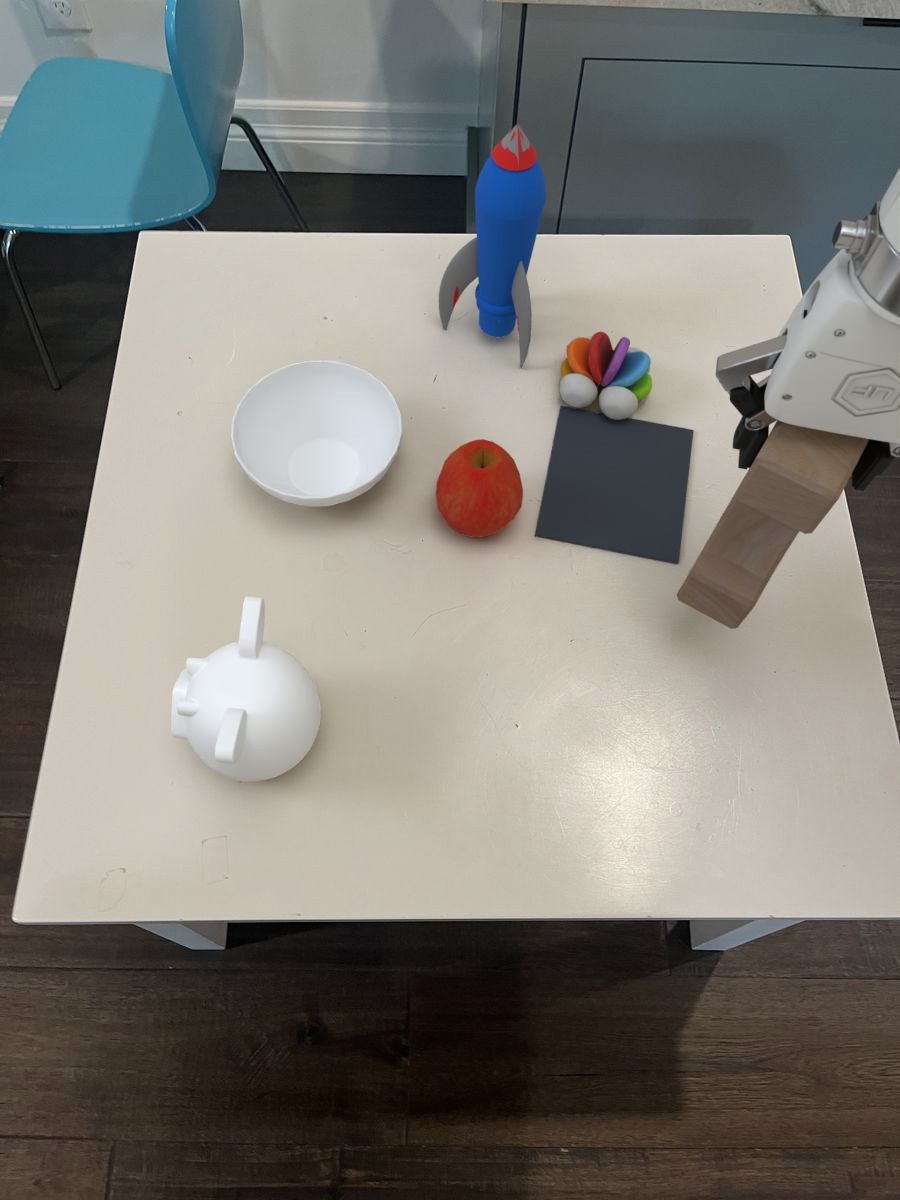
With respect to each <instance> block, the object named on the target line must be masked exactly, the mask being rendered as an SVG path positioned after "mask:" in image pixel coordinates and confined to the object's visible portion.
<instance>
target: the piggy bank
mask: <svg viewBox="0 0 900 1200" xmlns="http://www.w3.org/2000/svg"><path fill="white" fill-rule="evenodd" d="M265 612H266V606H265V599H264V598H263V597H261V596H252V595H245V597H244V600H243V604H242V612H241V619H240V625H239V633H238V641H234V642H231V643H227V644H225V645H223V646H221V647H218V648H217V649H215V650H214V651H212V652H211V653H209V654H208V655H207V656H206V657H205V658H204V657H194V656H193V657H192V656H189V657H187V659H186V662H185V667H184V668H183V670H182V671H181V673H180V674H179V675H178V677H177V679H176V681H175V683H174V685H173V687H172V693H171V708H170V709H171V713H170V732H171V736H172V738H175V739H182V740H183V739H184V740H188V742H189V743H190V745H191V747H192V749H193V751H194V752H195V754H196V755H197V756H198V758H199V759H200V760H201V761H202V762H203V763H204V764H205V765H206V766H207V767H209V768H210V769H212V770H213V771H214V772H216V773H218V774H219V775H221V776H223V777H226V778H228V779H231V780H235V781H241V782H261V781H267V780H271V779H274V778H276V777H278V776H281V775H283V774H285V773H287V772H288V771H290V770H292V769H293V768H294V767H295V766H296V765H298V764H299V763H300V762H301V761H302V760H303V759H304V758H305V756H306V755H307V754H308V753H309V751H310V750H311V748H312V747H313V746H314V743H315V740H316V739H317V736H318V733H319V731H320V725H321V717H322V709H321V708H322V706H321V699H320V694H319V691H318V688H317V686H316V685H317V684H316V683H315V681H314V678H313V677H312V675H311V673H310V672H309V670H308V669H307V668H306V667H305V666H304V664H303V663H302V662H301V661H300V660H299V659H298V658H297V657H296V656H295V655H294V654H292V653H291V652H290V651H289V650H286V649H284V648H283V647H280V646H278V645H276V644H274V643H271V642H268V641H264V633H265V618H266V613H265Z"/></svg>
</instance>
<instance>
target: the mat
mask: <svg viewBox="0 0 900 1200" xmlns="http://www.w3.org/2000/svg"><path fill="white" fill-rule="evenodd" d="M558 412H559V413H558V415H557V421H556V427H555V431H554V437H553V442H552V447H551V452H550V456H549V462H548V467H547V471H546V472H547V473H546V478H545V482H544V487H543V493H542V498H541V503H540V507H539V512H538V513H539V514H538V519H537V522H536V523H537V524H536V529H535V534H534V537H536V538H543V539H547V540H553V541H557V542H563V543H567V544H573V545H577V546H578V545H579V546H584V547H587V548H594V549H599V550H605V551H608V552H613V553H619V554H624V555H629V556H634V557H639V558H643V559H649V560H654V561H659V562H664V563H670V564H674V565H675V564H676V565H679V563H680V557H681V556H680V555H681V547H682V538H683V528H684V520H685V519H684V518H685V512H686V501H687V493H688V484H689V474H690V467H691V466H690V465H691V458H692V447H693V439H694V429H690V428H687V427H680V426H675V425H669V424H665V423H664V424H663V423H658V422H652V421H648V420H642V419H638V418H637V419H636V418H632V417H628V418H626V419H622V420H615V419H611V418H609V417H607V416H606V415H605V414H604V413H603V412H599V411H593V410H589V409H583V408H576V407H572V406H567V405H562V404H561V405H560V406H559V411H558Z"/></svg>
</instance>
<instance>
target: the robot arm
mask: <svg viewBox="0 0 900 1200" xmlns="http://www.w3.org/2000/svg"><path fill="white" fill-rule="evenodd" d="M831 248H832V249H839V251H838V252H837V253H836V254H835V255H834V256H833V258H831V260H830V261H829V262H828V263H827V264H826V266H825V267H824V268H823V269H822V270H821V272H819V274H818V275H817V276H816V278H815V279H814V280H813V282H812V283H811V284H810V286H809V287H808V288H807V290H806V291H805V293H803V296H802V297H801V298H800V299H799V300H798V303H797V304H796V305H795V307H794V309H793V311H792V312H791V313H790V315H789V316H788V318H787V319H786V322H785V323H784V325H783V326H782V328H781V329H780V331H779V333H778V335H777V336H776V337H773V338H771V339H767V340H764V341H761V342H758V343H755V344H750V345H749V346H745V347H742V348H738V349H735V350H732V351H729V352H725V353H723V354H721V355H719V356H717V358H716V365H715V377H716V380H718V382H719V383H720V386H721V387H722V388H723V390H724V392H726V393H727V394H728V395H729V402H730V403H731V404H732V405H733V407H734V408H735V409H736V410H737V412H738V413H739V414H740V415H741V418H740V420H739V422H738V424H737V426H736V428H735V430H734V433H733V436H732V437H733V438H732V449H733V450H737V451H738V452H739V453H738V464H737V467H738V469H741V470H747V469H749V468H750V467H751V465H752V464H753V462H754V460H755V459H756V457H757V455H758V453H759V452H760V450H761V448H762V447H763V445H764V443H765V441H766V440H767V438H768V435H769V434H770V425H772V424H774V423H776V422H777V420H779V421H781V422H784V423H788V424H792V425H796V426H801V427H806V428H811V429H816V430H822V431H827V432H832V433H838V434H843V435H849V436H855V437H860V438H866V439H869V441H868V443H867V445H866V447H865V449H864V451H863V452H862V454H861V456H860V458H859V460H858V462H857V464H856V466H855V468H854V470H853V472H852V474H851V488H854V490H856V491H860V492H861V491H862V492H864V491H865V490H866V488H868V487H869V485H870V484H871V482H872V481H873V480H874V479H875V477H876V476H881V475H882V474H883V473H884V472H885V470H886V469H887V468H888V467H889V466H890V465H891V463H892V462H893V461H894V460H895V458H900V168H899V169H898V170H897V172H896V174H895V175H894V177H893V179H892V181H891V182H890V184H889V187H887V190H886V192H885V193H884V195H883V197H882V199H881V200H880V199H876V201H875V203H874V205H873V206H872V209H871V210H870V211H869V214H867V215H866V216H865V217H864V218H863V219H858V218H857V219H855V220H854V221H849V220H844V219H840V220H839V221H838V222H837V224H836V226H835V229H834V231H833V234H832V238H831ZM770 370H771V371H770ZM767 371H770V374H768V376H766V377H765V378H763V379H761V380H760V381H759V382H757V383H756V381H755V379H753V377H752V376H753V375H757V374H761V373H763V372H767Z"/></svg>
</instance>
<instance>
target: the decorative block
mask: <svg viewBox="0 0 900 1200" xmlns="http://www.w3.org/2000/svg"><path fill="white" fill-rule="evenodd" d="M868 441H869V439H866V438H860V437H855V436H849V435H843V434H838V433H832V432H827V431H822V430H816V429H811V428H806V427H801V426H796V425H792V424H788V423H784V422H781V421H779V420H777V421H775V422H774V425H773V427H772V429H771V430H770V431H769V434H768V438H767V440H766V441H765V443H764V445H763V447H762V448H761V450H760V452H759V453H758V455H757V457H756V459H755V460H754V462H753V464H752V465H751V467H750V468H748V470H747V472H746V473H745V475H744V477H743V479H742V480H741V482H740V484H739V485H738V486H737V489H736V491H735V492H734V494H733V496H732V498H731V499H730V500H729V502H728V504H727V506H726V507H725V509H724V511H723V512H722V514H721V517H720V518H719V520H718V521H717V523H716V525H715V527H714V529H713V531H712V532H711V534H710V536H709V537H708V539H707V541H706V543H705V544H704V546H703V548H702V550H701V551H700V553H699V555H698V556H697V558H696V559H695V562H694V563H693V565H692V567H691V569H690V570H689V572H688V574H687V575H686V577H685V579H684V580H683V582H682V584H681V586H680V587H679V589H678V591H677V593H676V597H677V600H678V601H679V602H681V603H682V604H685V605H687V606H688V607H690V608H692V609H694V610H696V611H698V612H699V613H701V614H703V615H705V616H707V617H709V618H711V619H712V620H714V621H716V622H718V623H719V624H721V625H724V626H725V627H727V628H729V629H731V630H733V629H738V628H739V627H740V626H741V624H742V623H743V622H744V621H745V619H746V618H747V617H748V616H749V614H750V613H751V612H752V610H753V609H754V608H755V606H756V605H757V603H758V601H759V599H760V597H761V596H762V594H763V592H764V590H765V589H766V587H767V585H768V583H769V581H770V580H771V578H772V577H773V574H774V573H775V571H776V570H777V568H778V566H779V564H780V563H781V561H782V560H783V558H784V556H785V555H786V553H787V552H788V550H789V549H790V547H791V545H792V544H793V542H794V541H795V539H796V538H797V536H798V534H799V533H800V532H801V533H802V534H805V535H807V534H813V532H815V530H816V529H817V527H818V526H819V525H820V524H821V523H822V522H823V520H824V519H825V517H826V516H827V515H828V514H829V512H830V511H831V510H832V509H833V507H834V506H835V504H836V503H837V502H838V500H839V499H840V497H841V495H842V494H843V491H844V489H845V488H846V486H847V484H848V482H849V480H850V478H851V477H852V472H853V470H854V468H855V466H856V464H857V462H858V460H859V458H860V456H861V454H862V452H863V451H864V449H865V447H866V445H867V443H868Z"/></svg>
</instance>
